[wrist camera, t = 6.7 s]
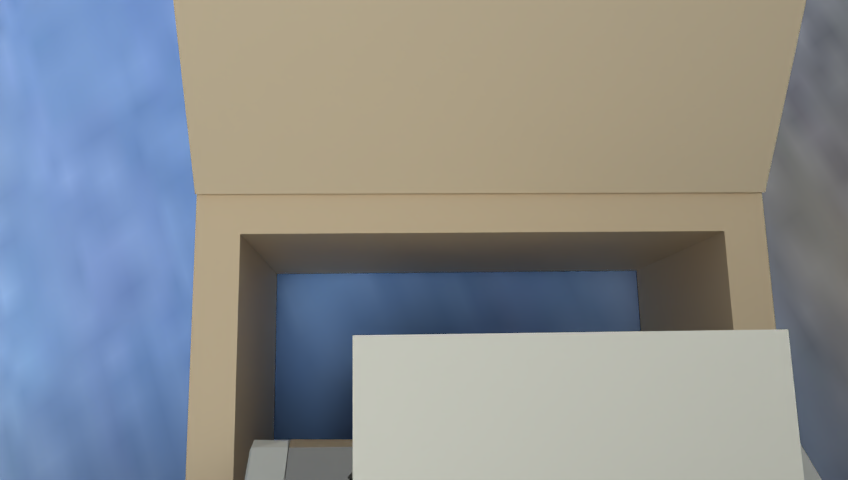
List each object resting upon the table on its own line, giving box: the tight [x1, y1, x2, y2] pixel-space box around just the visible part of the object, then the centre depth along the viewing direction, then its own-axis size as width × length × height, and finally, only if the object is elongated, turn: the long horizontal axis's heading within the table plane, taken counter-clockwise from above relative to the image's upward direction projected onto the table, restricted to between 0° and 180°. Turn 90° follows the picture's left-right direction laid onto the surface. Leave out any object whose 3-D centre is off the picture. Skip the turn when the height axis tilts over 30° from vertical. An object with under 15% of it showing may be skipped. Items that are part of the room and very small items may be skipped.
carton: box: [173, 0, 806, 480], centre depth 14 cm, size 11×17×7 cm, turn 1°
